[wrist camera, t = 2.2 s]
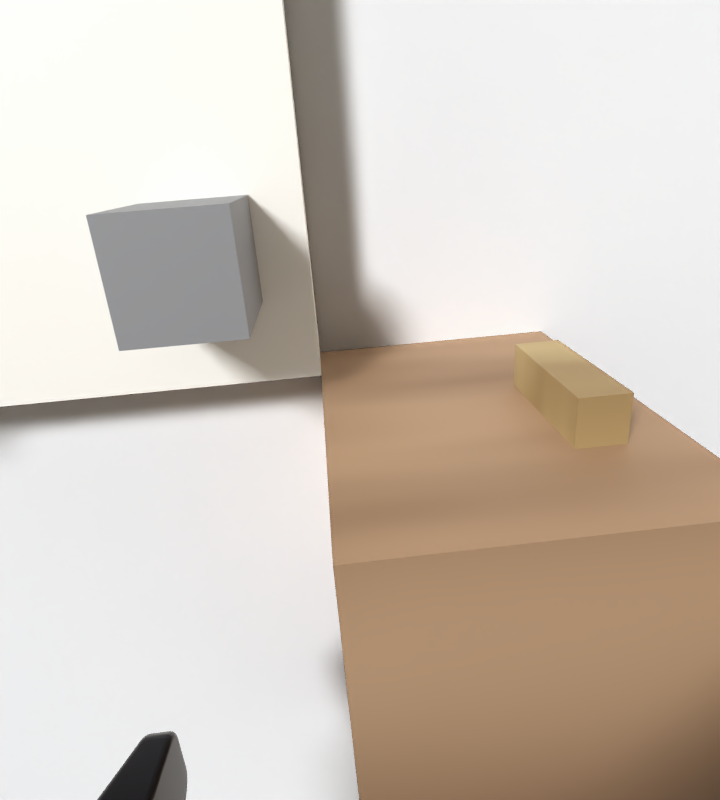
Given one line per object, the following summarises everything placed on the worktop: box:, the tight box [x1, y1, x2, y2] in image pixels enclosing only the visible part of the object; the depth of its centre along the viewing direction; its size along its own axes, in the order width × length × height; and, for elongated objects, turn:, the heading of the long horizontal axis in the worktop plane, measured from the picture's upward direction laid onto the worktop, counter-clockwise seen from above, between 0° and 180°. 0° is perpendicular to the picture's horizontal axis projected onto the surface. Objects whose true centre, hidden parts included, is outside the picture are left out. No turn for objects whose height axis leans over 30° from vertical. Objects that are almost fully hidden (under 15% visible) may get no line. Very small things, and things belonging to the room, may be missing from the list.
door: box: [320, 331, 720, 800], centre depth 9 cm, size 10×4×6 cm, turn 4°
